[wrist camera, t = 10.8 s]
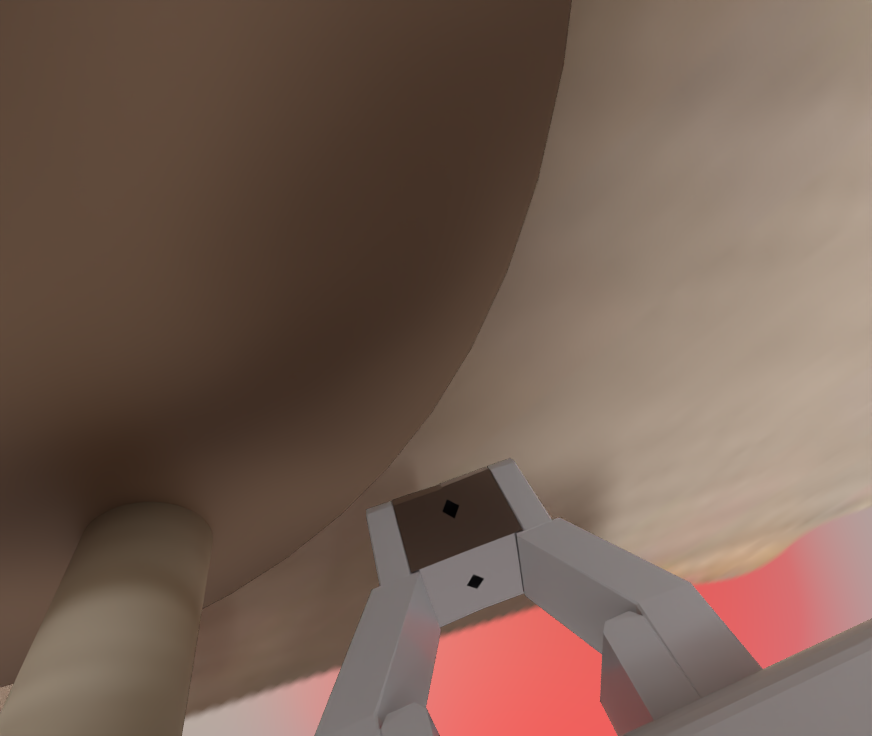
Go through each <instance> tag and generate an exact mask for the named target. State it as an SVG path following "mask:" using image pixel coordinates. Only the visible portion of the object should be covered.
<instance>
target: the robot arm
mask: <svg viewBox="0 0 872 736" xmlns="http://www.w3.org/2000/svg"><path fill="white" fill-rule="evenodd" d="M366 518H367V524H368V529H369V534H370V539H371V544H372V549H373V554H374V560H375V565H376V570H377V575H378V580H379V585H380V586H379V587H377V588H374V589H372V590H371V593H370V595H369V598H368V600H367V603H366V606H365V608H364V611H363V613H362V616H361V618H360V621H359V623H358V626H357V629H356V631H355V634H354V636H353V639H352V641H351V644H350V646H349V649H348V651H347V654H346V657H345V659H344V662H343V664H342V667H341V669H340V672H339V674H338V677H337V680H336V682H335V685H334V687H333V690H332V692H331V695H330V697H329V700H328V703H327V705H326V708H325V710H324V713H323V715H322V718H321V721H320V723H319V726H318V728H317V730H316V733H315V736H440V735H439V733H438V731H437V729H436V727H435V725H434V723H433V721H432V719H431V717H430V715H429V713H428V710H427V709H426V704H427V699H428V694H429V689H430V683H431V679H432V673H433V668H434V663H435V658H436V653H437V648H438V643H439V638H440V633H441V629H440V627H442V626H444V625H447V624H449V623H451V622H454V621H456V620H458V619H460V618H463V617H465V616H467V615H470V614H472V613H474V612H476V611H479V610H481V609H483V608H486V607H489V606H492V605H494V604H497V603H500V602H502V601H505V600H508V599H510V598H513V597H516V596H518V595H521V594H524V593H525V596H526V597H527V598H529V599H530V600H531V601H533V602H534V603H535V604H537V605H538V606H539V607H541V608H542V609H543V610H545V611H546V612H547V613H548V614H550V615H551V616H553V617H554V618H555V619H556V620H558V621H559V622H560V623H562V624H563V625H564V626H566V627H567V628H568V629H570V630H571V631H572V632H573V633H575V634H576V635H577V636H579V637H580V638H581V639H583V640H584V641H585V642H587V643H588V644H589V645H590V646H592V647H593V648H594V649H596V650H597V651H598V652H600V653H601V654H602V674H601V694H600V695H601V696H600V702H601V703H602V705H603V707H604V709H605V711H606V713H607V715H608V717H609V719H610V721H611V723H612V725H613V727H614V729H615V731H616V733H617V735H618V736H872V619H870V620H867V621H865V622H863V623H861V624H859V625H857V626H855V627H852V628H850V629H848V630H846V631H844V632H842V633H840V634H838V635H835V636H833V637H831V638H829V639H827V640H825V641H822V642H820V643H818V644H816V645H814V646H812V647H810V648H807V649H805V650H803V651H801V652H799V653H797V654H795V655H792V656H790V657H788V658H786V659H784V660H782V661H780V662H777V663H775V664H773V665H771V666H769V667H767V668H765V669H762V668H761V666H760V665H759V664H758V663H757V662H756V660H755V659H754V658H753V657H752V656H751V655H750V653H749V652H748V651H747V650H746V648H745V647H744V646H743V645H742V644H741V643H740V641H739V640H738V639H737V638H736V636H735V635H734V634H733V633H732V632H731V631H730V630H729V628H728V627H727V626H726V625H725V623H724V622H723V621H722V620H721V619H720V617H719V616H718V615H717V614H716V613H715V612H714V610H713V609H712V608H711V607H710V606H709V604H708V603H707V602H706V601H705V600H704V598H703V597H702V596H701V595H700V593H699V592H698V591H697V590H696V589H695V588H694V586H693V585H692V584H691V583H690V582H688V581H686V580H684V579H682V578H680V577H678V576H676V575H674V574H672V573H670V572H668V571H666V570H664V569H662V568H660V567H658V566H656V565H654V564H652V563H650V562H648V561H646V560H644V559H642V558H640V557H638V556H636V555H634V554H632V553H630V552H628V551H626V550H624V549H622V548H620V547H618V546H616V545H614V544H612V543H610V542H608V541H606V540H604V539H602V538H600V537H598V536H596V535H594V534H592V533H590V532H588V531H586V530H584V529H582V528H580V527H578V526H576V525H574V524H572V523H570V522H568V521H566V520H564V519H562V518H560V517H559V518H556V519H553V520H552V519H551V517H550V516H549V514H548V512H547V511H546V509H545V508H544V506H543V505H542V503H541V502H540V500H539V498H538V497H537V495H536V494H535V492H534V491H533V489H532V488H531V486H530V484H529V483H528V481H527V480H526V478H525V477H524V475H523V473H522V472H521V470H520V469H519V467H518V466H517V464H516V463H515V461H514V460H513V459H511V458H508V459H505V460H503V461H500V462H497V463H494V464H492V465H489V466H487V467H483V468H480V469H477V470H475V471H472V472H469V473H467V474H464V475H461V476H459V477H456V478H453V479H451V480H448V481H445V482H443V483H440V484H439V485H436V486H433V487H430V488H427V489H424V490H421V491H418V492H415V493H412V494H409V495H406V496H403V497H400V498H397V499H394V500H392V501H389V502H386V503H383V504H380V505H377V506H374V507H371V508H368V509H366Z"/></svg>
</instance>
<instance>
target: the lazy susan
mask: <svg viewBox="0 0 872 736" xmlns="http://www.w3.org/2000/svg"><path fill="white" fill-rule="evenodd" d="M571 2H572V0H0V687H3V686H7V685H11V684H13V686H12V688H11V691H10V693H9V695H8V697H7V699H6V701H5V704H4V706H3V708H2V710H1V712H0V736H182V731H183V725H184V719H185V713H186V707H187V700H188V694H189V688H190V682H191V675H192V669H193V663H194V657H195V651H196V644H197V638H198V632H199V626H200V619H201V613H202V609H203V608H205V607H207V606H209V605H211V604H212V603H214V602H216V601H218V600H220V599H222V598H224V597H226V596H228V595H230V594H231V593H233V592H235V591H236V590H238V589H239V588H241V587H242V586H244V585H245V584H247V583H248V582H250V581H252V580H253V579H255V578H256V577H258V576H259V575H261V574H262V573H264V572H266V571H267V570H269V569H270V568H272V567H273V566H275V565H276V564H278V563H279V562H281V561H283V560H284V559H286V558H287V557H289V556H290V555H291V554H292V553H294V552H295V551H296V550H297V549H299V548H300V547H301V546H302V545H304V544H305V543H306V542H307V541H309V540H310V539H311V538H312V537H314V536H315V535H316V534H317V533H319V532H320V531H321V530H322V529H324V528H325V527H326V526H327V525H329V524H330V523H331V522H332V521H334V520H335V519H336V518H337V517H339V516H340V515H341V514H342V513H343V512H344V511H345V510H346V509H347V508H348V507H349V506H350V505H351V504H352V503H353V502H354V501H355V500H356V499H357V498H358V497H359V496H360V495H361V494H362V493H363V492H364V491H365V490H366V489H367V488H368V487H369V486H370V485H371V484H372V483H373V482H374V481H375V480H376V479H377V478H378V477H379V476H380V475H381V474H382V473H383V472H384V471H385V470H386V469H387V468H388V467H389V466H390V464H391V463H392V462H393V461H394V459H395V458H396V457H397V455H398V454H399V453H400V452H401V450H402V449H403V448H404V447H405V445H406V444H407V443H408V442H409V440H410V439H411V438H412V437H413V435H414V434H415V433H416V432H417V430H418V429H419V428H420V427H421V425H422V424H423V423H424V421H425V420H426V419H427V418H428V416H429V415H430V414H431V413H432V411H433V409H434V408H435V406H436V405H437V403H438V401H439V400H440V398H441V397H442V395H443V393H444V392H445V390H446V388H447V387H448V385H449V384H450V382H451V380H452V379H453V377H454V375H455V374H456V372H457V371H458V369H459V367H460V366H461V364H462V363H463V361H464V359H465V358H466V356H467V354H468V353H469V351H470V350H471V348H472V346H473V344H474V341H475V339H476V337H477V335H478V333H479V331H480V329H481V326H482V324H483V322H484V320H485V318H486V316H487V314H488V311H489V309H490V307H491V305H492V303H493V301H494V299H495V296H496V294H497V292H498V290H499V288H500V286H501V284H502V281H503V279H504V277H505V275H506V273H507V270H508V267H509V264H510V261H511V258H512V255H513V252H514V249H515V246H516V243H517V240H518V237H519V235H520V232H521V229H522V226H523V223H524V220H525V217H526V214H527V211H528V208H529V205H530V202H531V199H532V196H533V193H534V190H535V187H536V184H537V181H538V177H539V173H540V168H541V164H542V159H543V155H544V150H545V146H546V141H547V137H548V132H549V128H550V123H551V119H552V115H553V110H554V106H555V101H556V97H557V92H558V88H559V83H560V79H561V74H562V70H563V65H564V58H565V50H566V42H567V34H568V26H569V18H570V10H571Z"/></svg>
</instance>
